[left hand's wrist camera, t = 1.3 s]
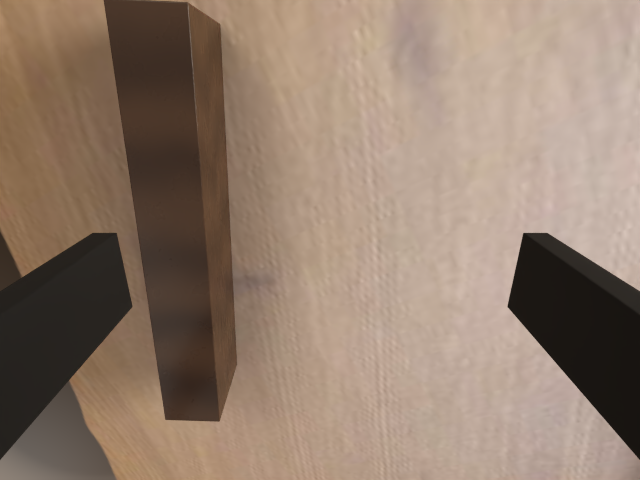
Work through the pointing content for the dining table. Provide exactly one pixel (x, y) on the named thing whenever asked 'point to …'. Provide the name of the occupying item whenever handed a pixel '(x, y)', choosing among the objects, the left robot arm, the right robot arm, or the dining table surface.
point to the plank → (179, 194)
